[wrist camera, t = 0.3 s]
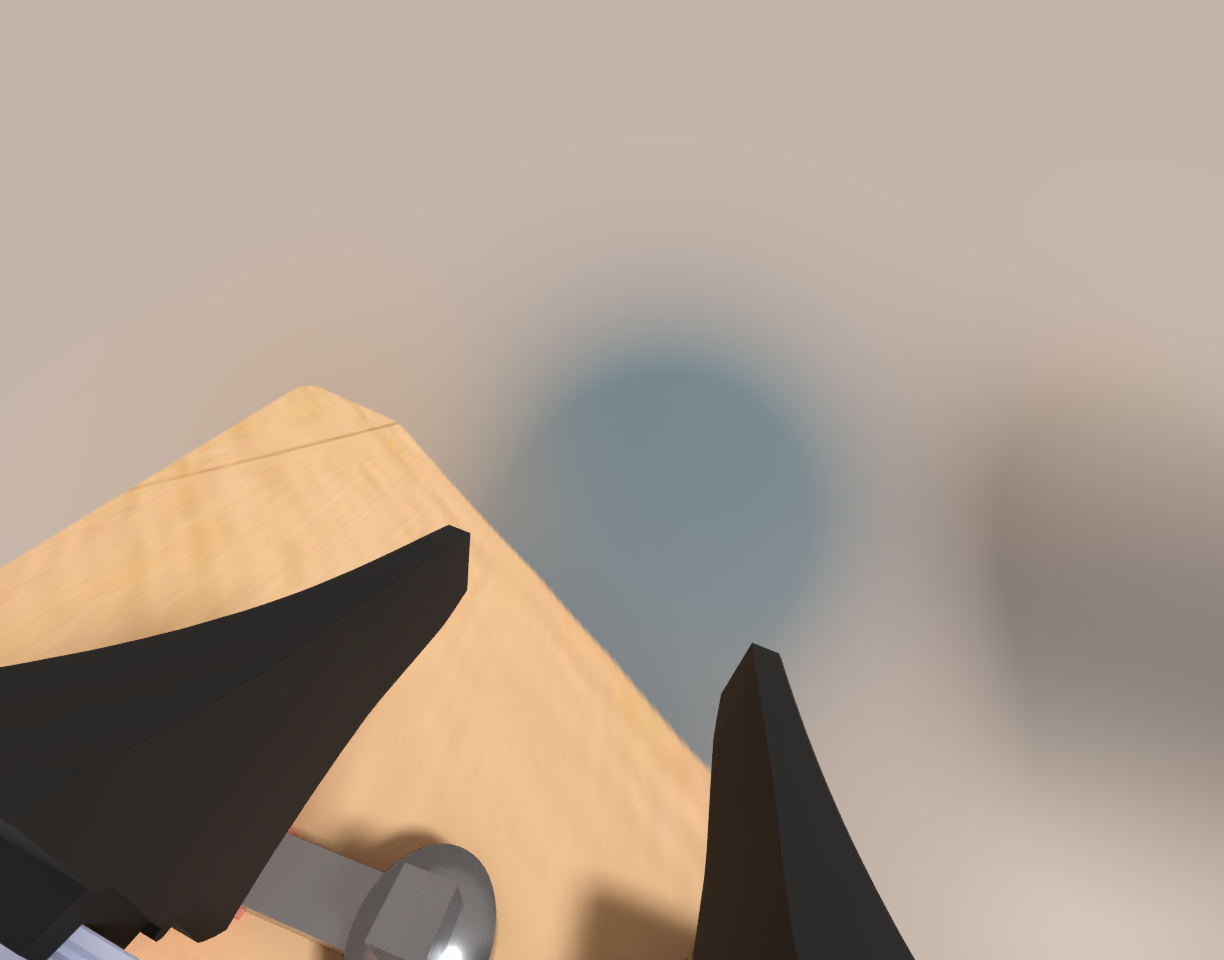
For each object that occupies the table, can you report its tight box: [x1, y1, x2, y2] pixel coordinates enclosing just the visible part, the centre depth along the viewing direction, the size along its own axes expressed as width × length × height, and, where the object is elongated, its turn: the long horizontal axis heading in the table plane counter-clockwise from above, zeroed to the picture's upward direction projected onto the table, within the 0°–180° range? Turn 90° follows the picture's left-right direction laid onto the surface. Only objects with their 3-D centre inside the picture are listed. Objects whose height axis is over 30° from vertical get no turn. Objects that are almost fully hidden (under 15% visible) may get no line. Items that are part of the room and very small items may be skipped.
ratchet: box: [234, 827, 497, 960], centre depth 20 cm, size 18×6×5 cm, turn 75°
